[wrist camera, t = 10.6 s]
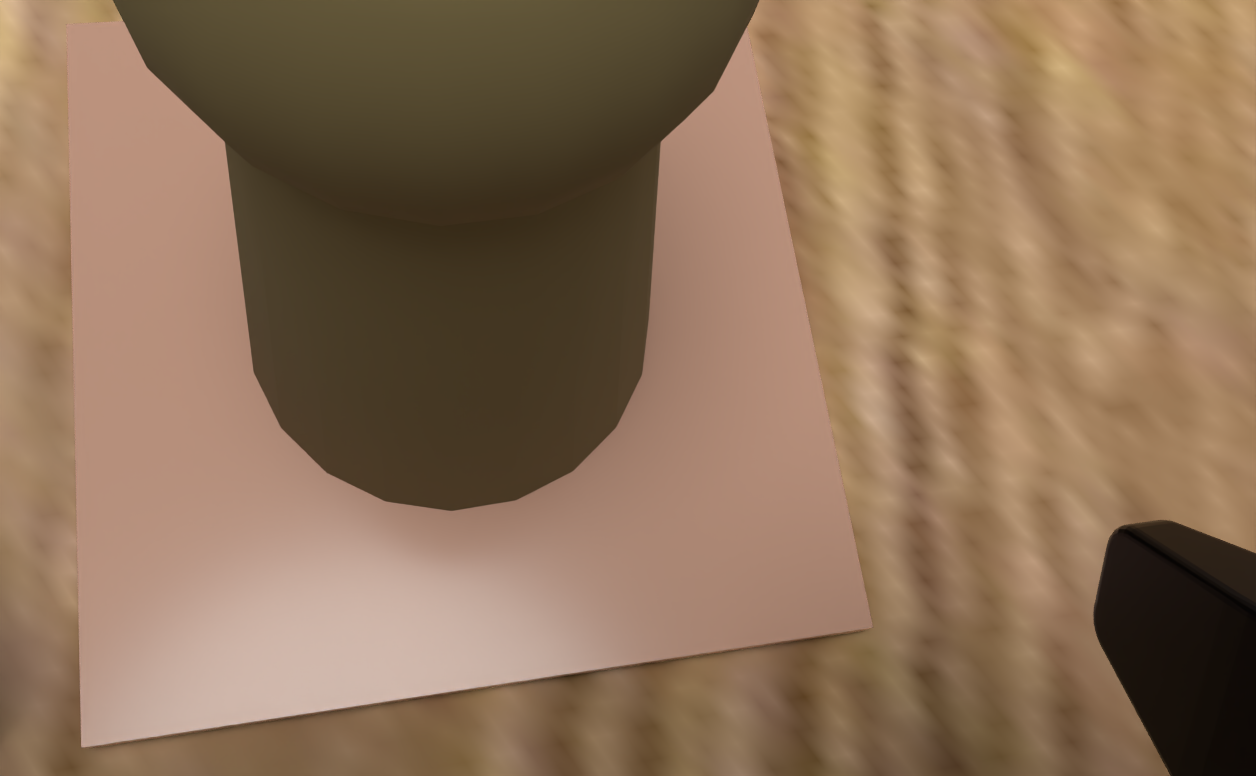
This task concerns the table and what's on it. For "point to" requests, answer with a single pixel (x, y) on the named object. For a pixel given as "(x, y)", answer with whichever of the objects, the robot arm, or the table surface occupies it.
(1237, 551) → the robot arm
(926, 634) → the table surface
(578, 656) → the terracotta tile
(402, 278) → the cork
